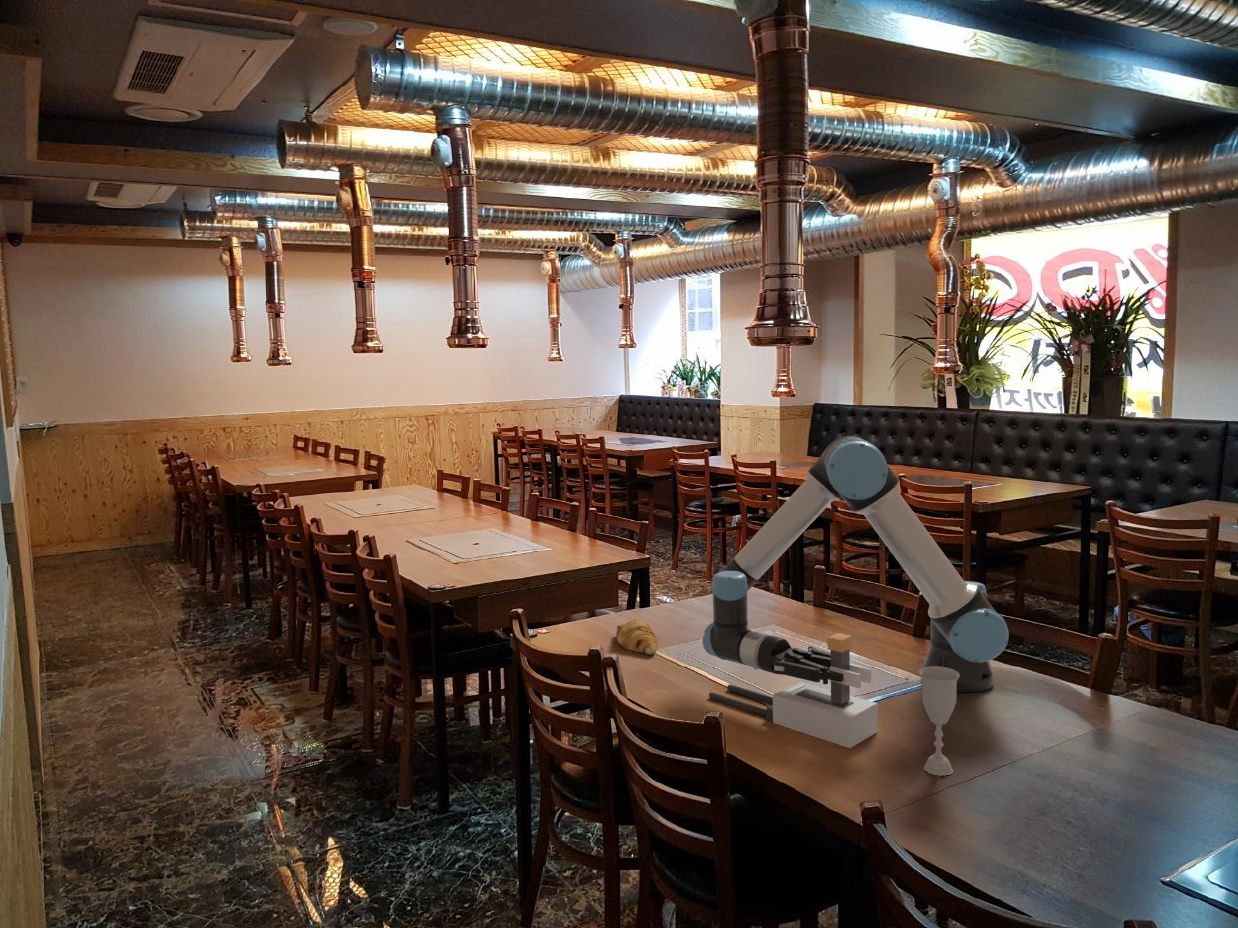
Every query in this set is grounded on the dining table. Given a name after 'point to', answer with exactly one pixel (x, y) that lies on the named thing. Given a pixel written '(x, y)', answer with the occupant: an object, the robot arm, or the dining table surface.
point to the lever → (840, 665)
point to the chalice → (938, 710)
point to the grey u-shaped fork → (745, 706)
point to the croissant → (637, 637)
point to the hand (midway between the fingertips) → (864, 678)
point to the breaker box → (824, 714)
